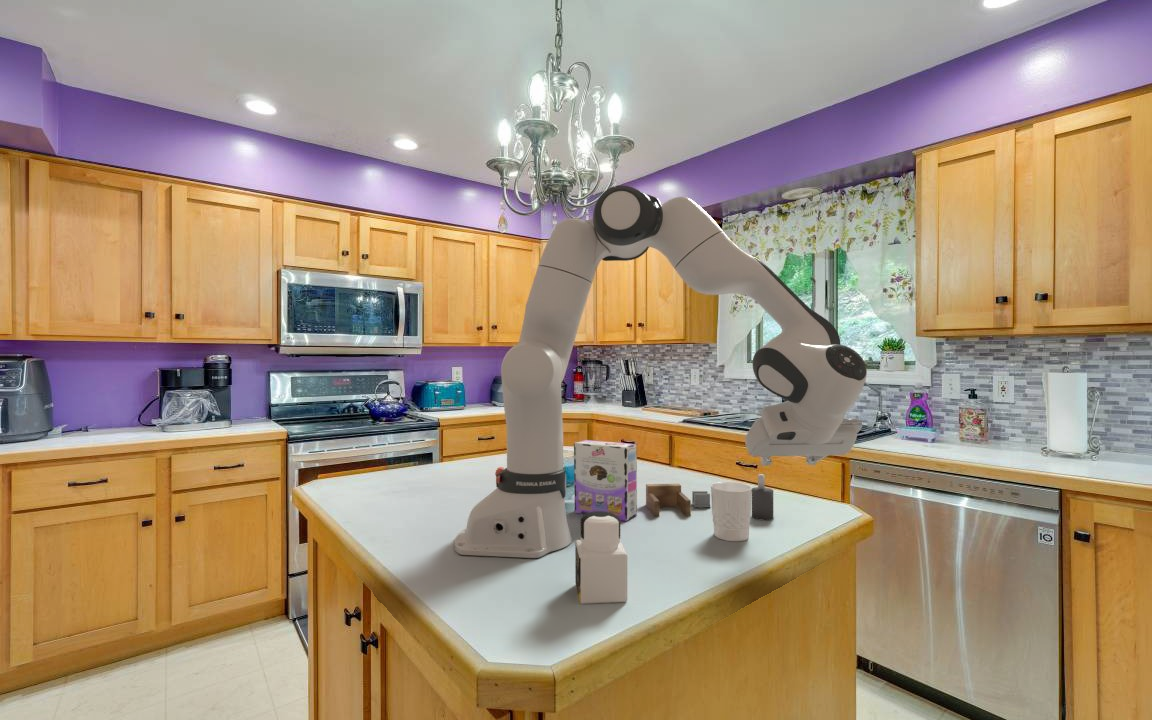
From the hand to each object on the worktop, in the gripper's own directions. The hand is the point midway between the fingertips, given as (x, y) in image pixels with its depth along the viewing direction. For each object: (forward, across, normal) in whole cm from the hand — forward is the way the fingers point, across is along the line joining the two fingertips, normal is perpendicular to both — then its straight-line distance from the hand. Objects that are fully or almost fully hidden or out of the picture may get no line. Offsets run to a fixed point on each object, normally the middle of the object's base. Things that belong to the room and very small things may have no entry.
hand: (787, 462), depth 108 cm
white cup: (+10, +12, +10) cm, 19 cm away
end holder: (+23, +20, -2) cm, 31 cm away
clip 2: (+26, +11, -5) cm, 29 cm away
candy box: (+22, +35, -2) cm, 42 cm away
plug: (+19, 0, +2) cm, 19 cm away
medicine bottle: (-7, +41, +28) cm, 50 cm away
